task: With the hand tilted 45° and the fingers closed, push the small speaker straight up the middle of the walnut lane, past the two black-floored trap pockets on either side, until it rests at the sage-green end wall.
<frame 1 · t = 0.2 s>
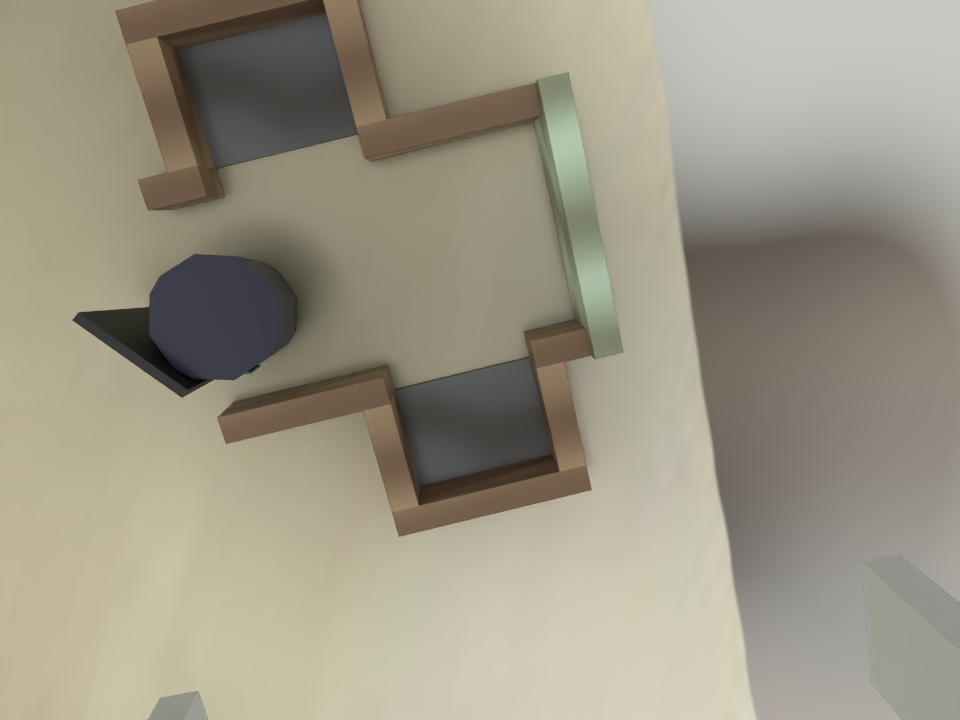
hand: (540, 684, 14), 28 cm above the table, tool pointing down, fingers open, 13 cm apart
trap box: (379, 266, 39), on the table
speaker: (239, 299, 40), on the table
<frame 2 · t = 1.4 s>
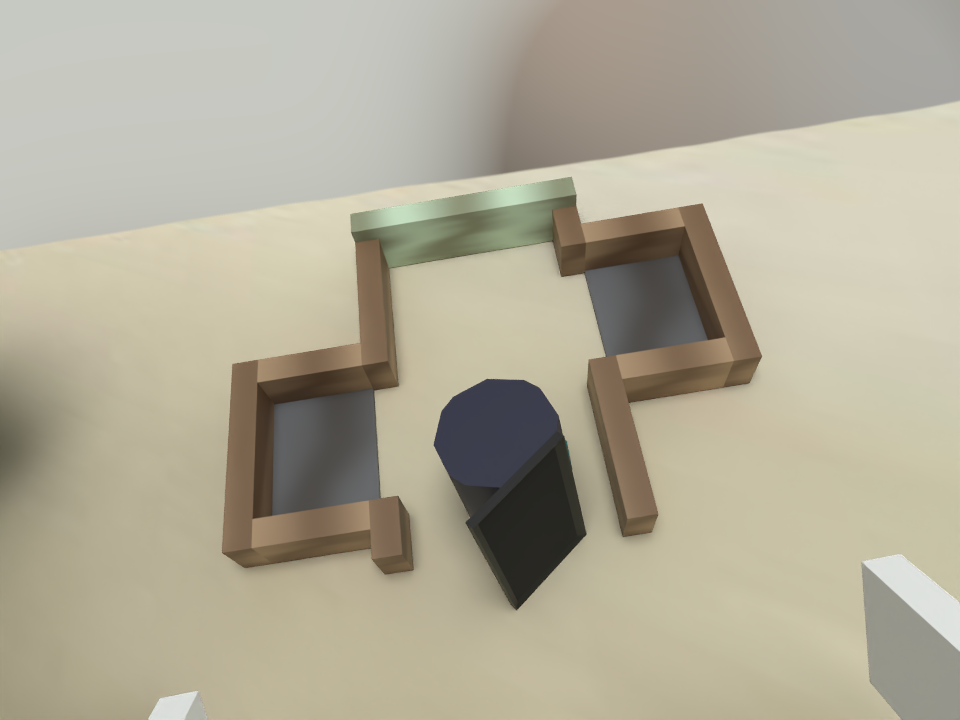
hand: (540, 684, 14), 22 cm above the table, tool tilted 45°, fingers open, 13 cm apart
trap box: (491, 385, 42), on the table
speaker: (512, 517, 38), on the table
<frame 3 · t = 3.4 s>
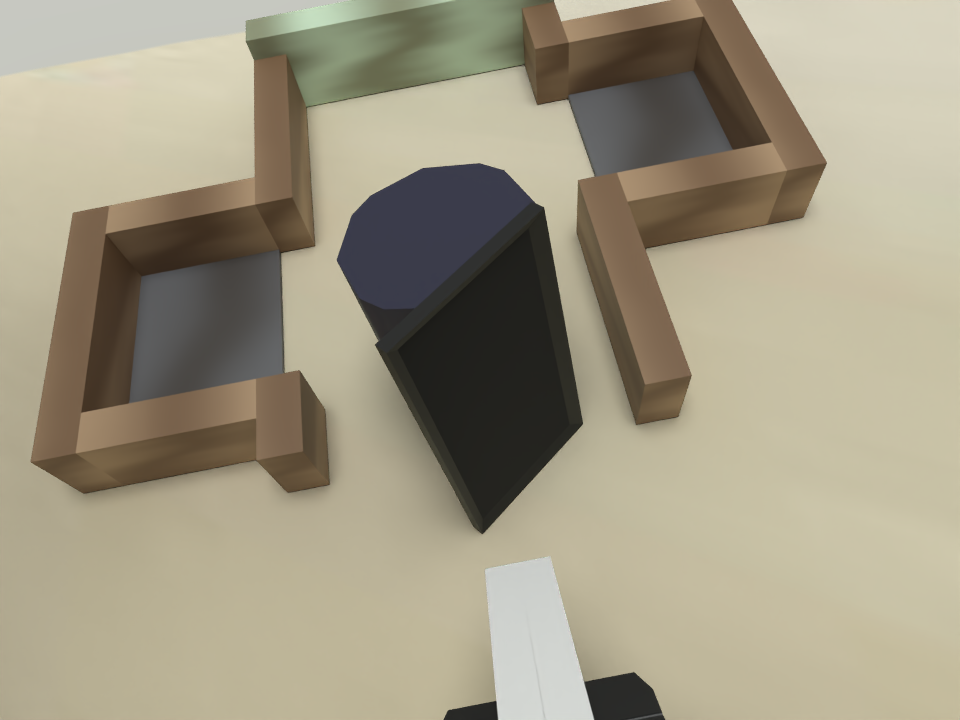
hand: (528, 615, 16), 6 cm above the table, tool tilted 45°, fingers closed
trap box: (443, 238, 30), on the table
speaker: (474, 407, 26), on the table
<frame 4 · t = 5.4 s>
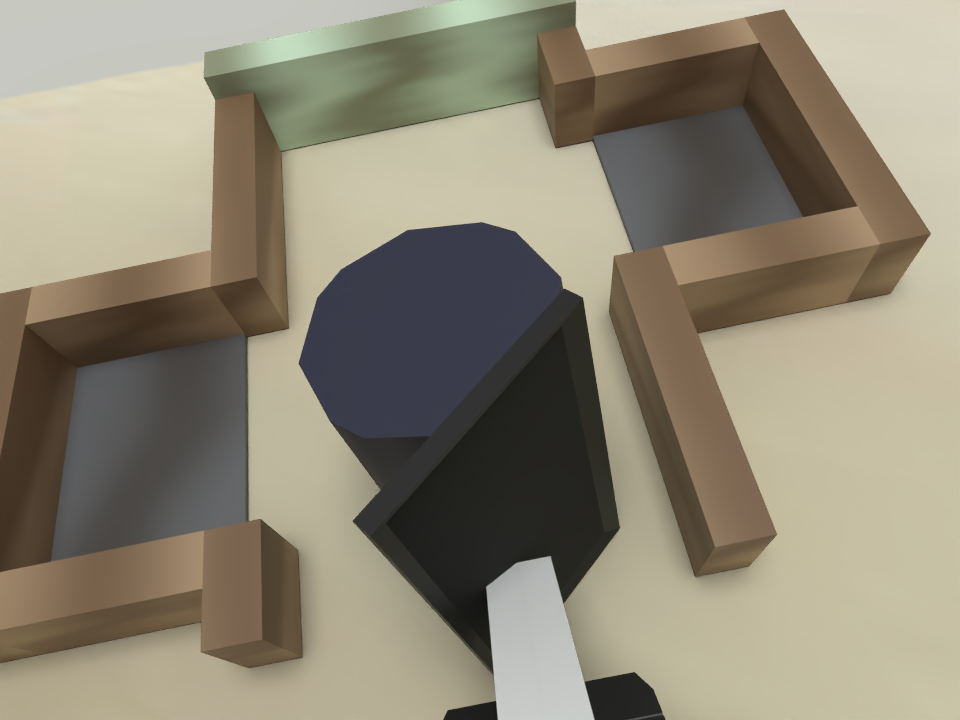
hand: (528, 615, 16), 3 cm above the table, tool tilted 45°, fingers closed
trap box: (445, 319, 25), on the table
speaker: (483, 509, 21), on the table, touching gripper
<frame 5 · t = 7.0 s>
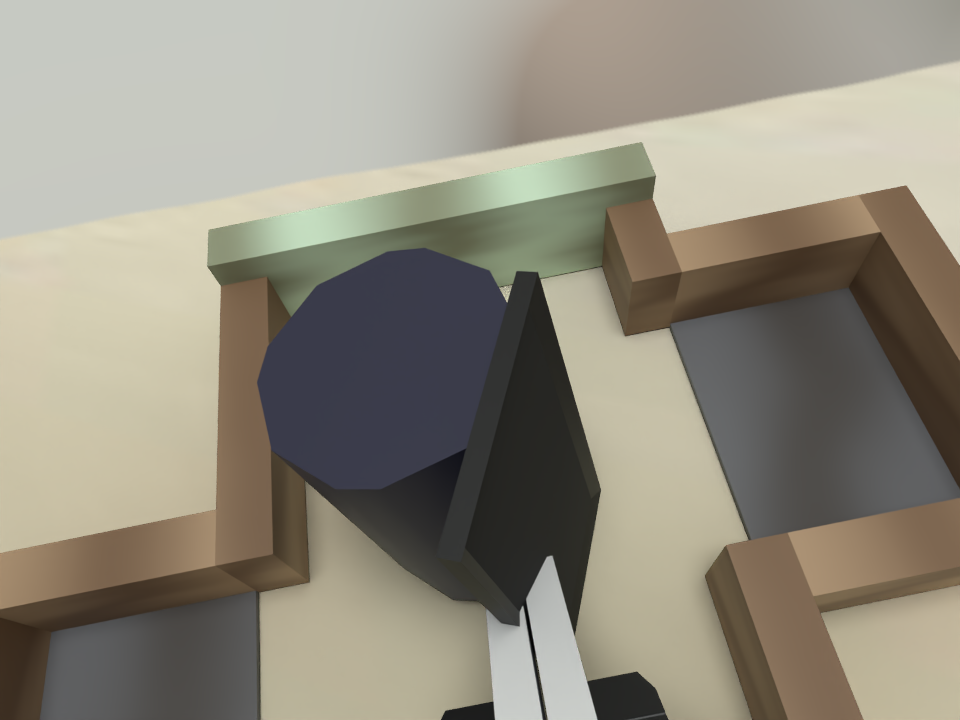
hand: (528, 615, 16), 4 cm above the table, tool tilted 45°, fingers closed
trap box: (502, 578, 20), on the table
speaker: (471, 530, 21), on the table, touching gripper
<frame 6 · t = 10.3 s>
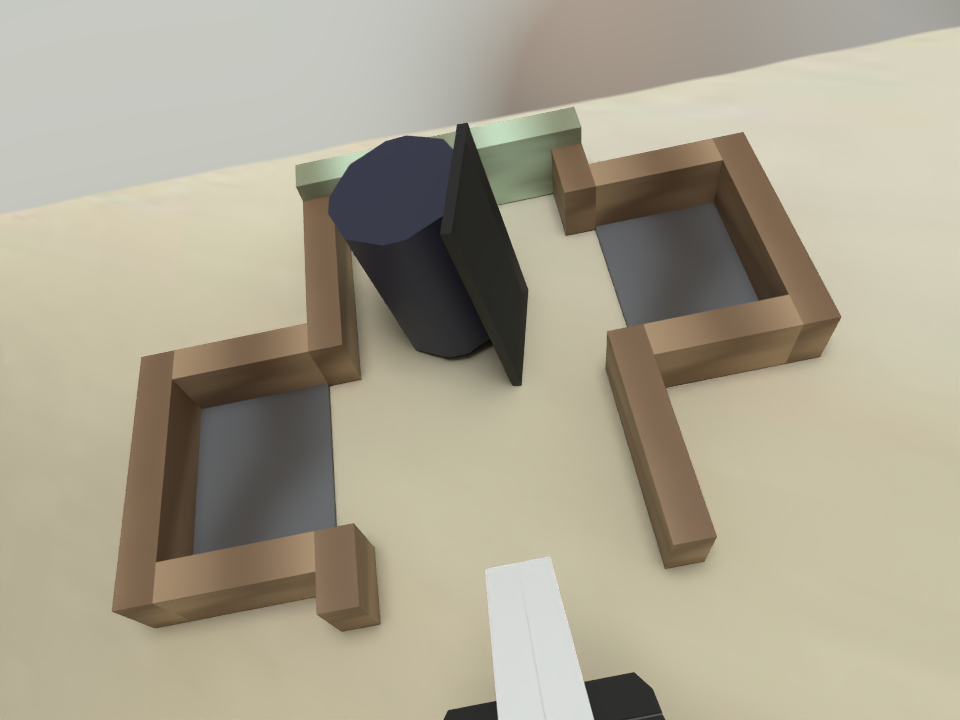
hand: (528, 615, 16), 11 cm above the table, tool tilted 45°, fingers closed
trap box: (480, 374, 32), on the table
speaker: (453, 326, 34), on the table
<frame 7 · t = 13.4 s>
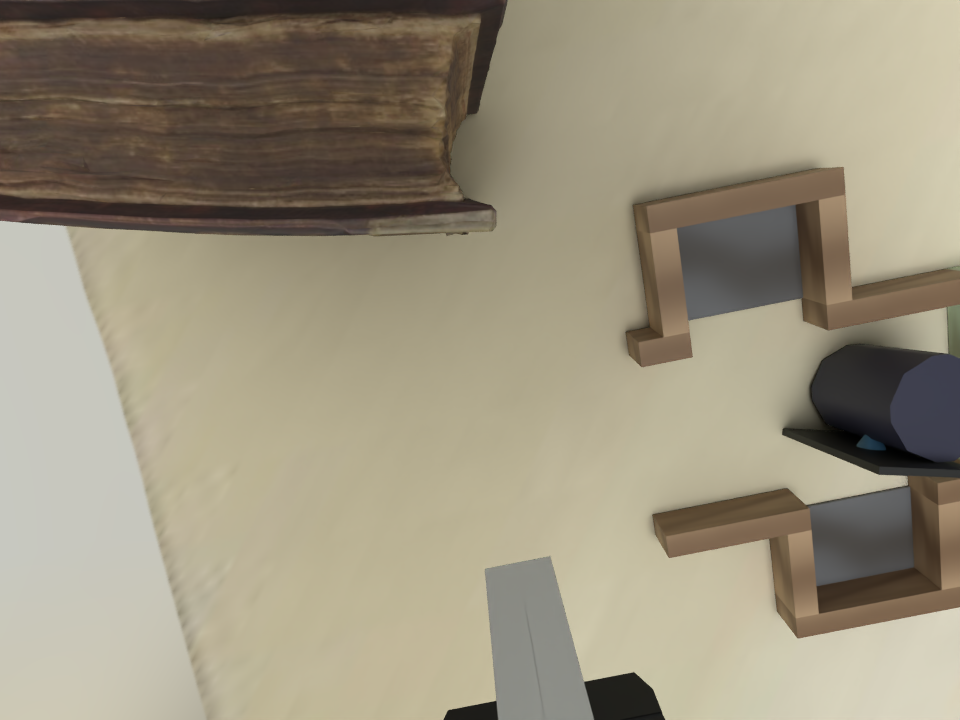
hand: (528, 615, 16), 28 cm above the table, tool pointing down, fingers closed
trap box: (795, 407, 46), on the table
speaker: (839, 383, 46), on the table
book: (333, 147, 41), on the table
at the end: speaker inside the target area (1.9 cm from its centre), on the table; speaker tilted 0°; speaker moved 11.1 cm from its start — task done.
